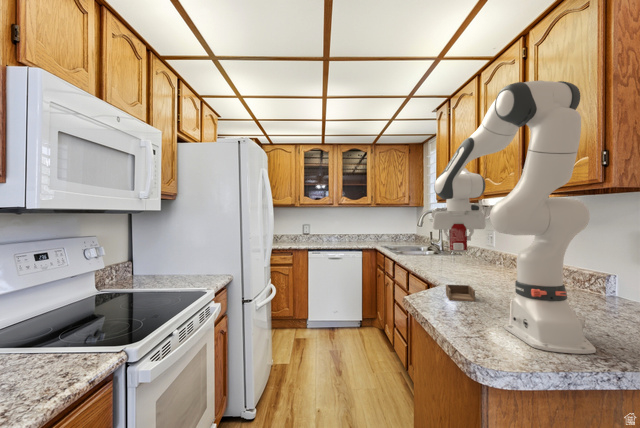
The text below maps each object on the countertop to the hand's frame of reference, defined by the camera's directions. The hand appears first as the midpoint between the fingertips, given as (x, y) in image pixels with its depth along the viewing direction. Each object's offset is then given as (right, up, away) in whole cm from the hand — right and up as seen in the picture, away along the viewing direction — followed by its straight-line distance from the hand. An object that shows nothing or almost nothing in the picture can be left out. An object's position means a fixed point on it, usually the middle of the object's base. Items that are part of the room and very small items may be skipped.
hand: (458, 240), depth 130 cm
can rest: (0, -24, 0) cm, 24 cm away
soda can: (0, -5, 0) cm, 5 cm away
